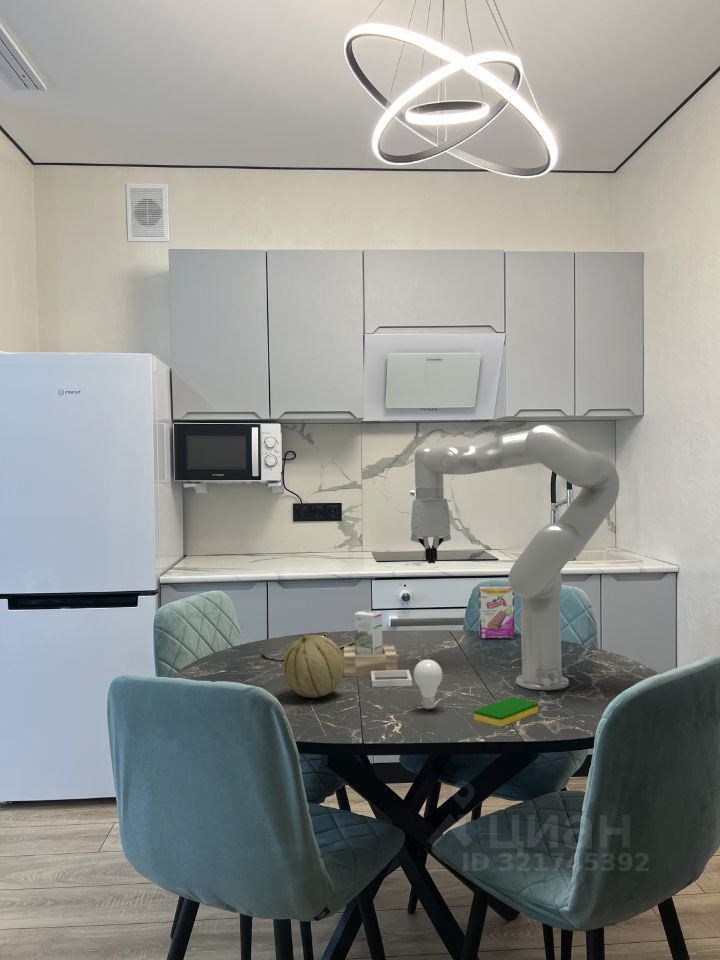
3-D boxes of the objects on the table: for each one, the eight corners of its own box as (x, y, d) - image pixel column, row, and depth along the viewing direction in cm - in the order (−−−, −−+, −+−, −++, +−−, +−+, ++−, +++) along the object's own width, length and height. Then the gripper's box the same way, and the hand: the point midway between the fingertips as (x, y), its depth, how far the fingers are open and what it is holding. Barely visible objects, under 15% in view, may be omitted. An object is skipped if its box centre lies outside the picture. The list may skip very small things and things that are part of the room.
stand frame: (412, 685, 185) (412, 679, 185) (372, 686, 185) (372, 680, 185) (409, 675, 195) (408, 669, 195) (370, 676, 195) (370, 670, 195)
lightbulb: (415, 705, 168) (413, 656, 168) (443, 705, 168) (441, 656, 168) (414, 713, 162) (412, 663, 162) (443, 713, 161) (442, 663, 161)
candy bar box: (479, 640, 237) (478, 588, 237) (479, 636, 242) (477, 586, 242) (515, 639, 236) (514, 588, 236) (513, 636, 241) (512, 586, 241)
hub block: (397, 674, 196) (396, 655, 196) (344, 676, 195) (343, 657, 196) (394, 662, 210) (393, 644, 210) (344, 663, 209) (344, 646, 210)
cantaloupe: (355, 691, 181) (353, 629, 181) (328, 708, 168) (326, 641, 168) (302, 686, 187) (300, 626, 187) (271, 701, 174) (270, 637, 174)
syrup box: (384, 663, 204) (382, 610, 204) (373, 668, 199) (371, 614, 199) (366, 661, 207) (364, 609, 207) (355, 666, 201) (353, 612, 202)
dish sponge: (473, 721, 157) (473, 710, 157) (511, 707, 166) (511, 696, 166) (501, 729, 152) (500, 717, 152) (539, 713, 161) (538, 702, 161)
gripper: (402, 495, 195) (404, 565, 194) (459, 493, 195) (461, 563, 195) (400, 494, 202) (402, 562, 202) (455, 493, 202) (457, 560, 202)
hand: (431, 562), depth 198 cm, fingers closed
